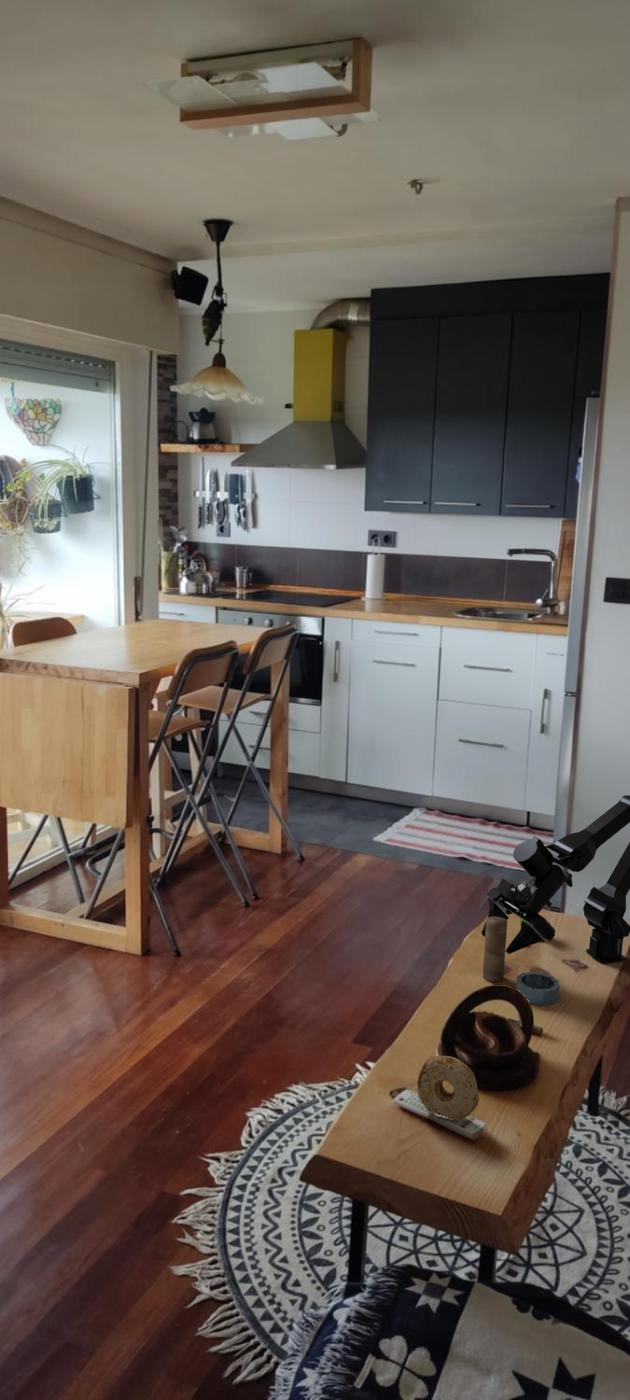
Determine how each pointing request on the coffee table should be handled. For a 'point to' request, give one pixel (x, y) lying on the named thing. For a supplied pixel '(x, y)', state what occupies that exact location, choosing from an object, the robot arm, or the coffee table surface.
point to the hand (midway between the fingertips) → (494, 943)
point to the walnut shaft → (494, 949)
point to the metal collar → (538, 980)
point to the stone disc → (437, 1097)
